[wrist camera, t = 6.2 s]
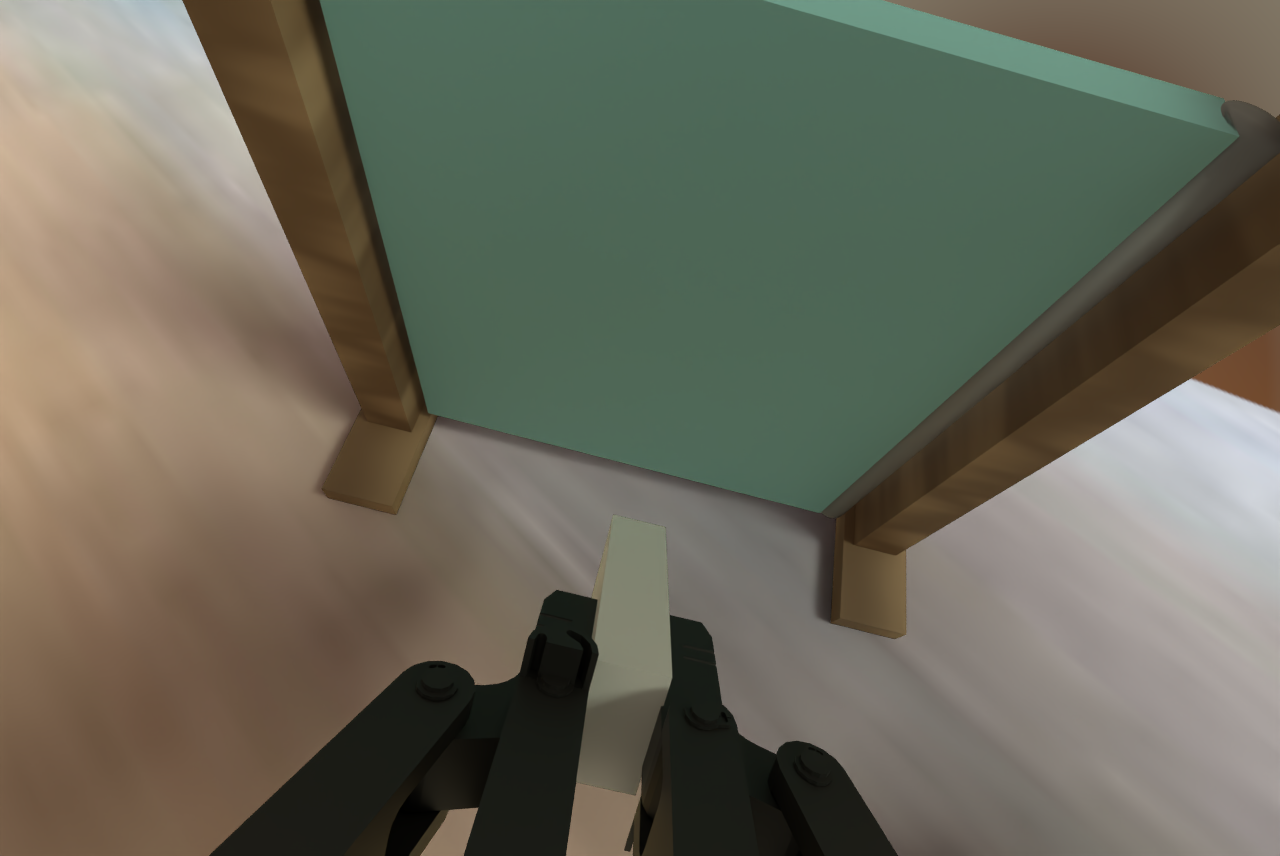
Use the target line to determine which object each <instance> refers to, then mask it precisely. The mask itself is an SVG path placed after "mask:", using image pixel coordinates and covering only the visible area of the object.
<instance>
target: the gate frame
mask: <svg viewBox="0 0 1280 856" xmlns="http://www.w3.org/2000/svg"><path fill="white" fill-rule="evenodd" d="M182 1H183V3H184V5H185V7H186V10H187V12H188V14H189V16H190V19H191V21H192V23H193V26H194V28H195V30H196V32H197V35H198V37H199V39H200V42H201V44H202V46H203V48H204V51H205V53H206V55H207V57H208V60H209V62H210V64H211V67H212V69H213V71H214V73H215V76H216V78H217V80H218V82H219V85H220V87H221V89H222V92H223V94H224V96H225V98H226V101H227V103H228V105H229V108H230V110H231V112H232V114H233V117H234V119H235V121H236V123H237V126H238V128H239V130H240V133H241V135H242V137H243V139H244V142H245V144H246V146H247V148H248V151H249V153H250V155H251V158H252V160H253V162H254V164H255V167H256V169H257V171H258V174H259V176H260V178H261V180H262V183H263V185H264V187H265V189H266V192H267V194H268V196H269V199H270V201H271V203H272V205H273V208H274V210H275V212H276V214H277V217H278V219H279V221H280V224H281V226H282V228H283V230H284V233H285V235H286V237H287V239H288V242H289V244H290V246H291V249H292V251H293V253H294V255H295V258H296V260H297V262H298V265H299V267H300V269H301V271H302V274H303V276H304V278H305V280H306V283H307V285H308V287H309V290H310V292H311V294H312V296H313V299H314V301H315V303H316V305H317V308H318V310H319V312H320V315H321V317H322V319H323V321H324V324H325V326H326V328H327V331H328V333H329V335H330V337H331V340H332V342H333V344H334V346H335V349H336V351H337V353H338V356H339V358H340V360H341V362H342V365H343V367H344V369H345V371H346V374H347V376H348V378H349V381H350V383H351V385H352V387H353V390H354V392H355V394H356V397H357V399H358V401H359V403H360V406H361V410H360V412H359V414H358V416H357V418H356V420H355V422H354V424H353V426H352V429H351V431H350V433H349V435H348V437H347V439H346V441H345V443H344V445H343V447H342V449H341V451H340V453H339V455H338V457H337V459H336V461H335V463H334V465H333V467H332V469H331V471H330V473H329V475H328V477H327V479H326V481H325V483H324V485H323V487H322V490H323V491H324V493H325V494H326V496H327V497H328V498H331V499H335V500H339V501H343V502H347V503H351V504H355V505H359V506H363V507H367V508H371V509H375V510H379V511H383V512H387V513H391V514H395V515H396V514H397V511H398V509H399V507H400V504H401V502H402V500H403V497H404V495H405V493H406V490H407V488H408V485H409V483H410V481H411V478H412V476H413V474H414V471H415V469H416V467H417V464H418V462H419V459H420V457H421V455H422V452H423V450H424V448H425V445H426V443H427V441H428V438H429V436H430V433H431V431H432V429H433V426H434V424H435V422H436V419H437V417H438V415H434V414H430V413H428V410H427V406H426V403H425V399H424V395H423V391H422V387H421V384H420V380H419V376H418V372H417V368H416V365H415V361H414V357H413V353H412V349H411V346H410V342H409V338H408V334H407V330H406V327H405V323H404V319H403V315H402V311H401V308H400V304H399V300H398V296H397V292H396V289H395V285H394V281H393V277H392V273H391V270H390V266H389V262H388V258H387V254H386V251H385V247H384V243H383V239H382V235H381V232H380V228H379V224H378V220H377V216H376V213H375V209H374V205H373V201H372V197H371V194H370V190H369V186H368V182H367V178H366V175H365V171H364V167H363V163H362V159H361V156H360V152H359V148H358V144H357V140H356V137H355V133H354V129H353V125H352V121H351V118H350V114H349V110H348V106H347V102H346V99H345V95H344V91H343V87H342V83H341V80H340V76H339V72H338V68H337V64H336V61H335V57H334V53H333V49H332V45H331V41H330V38H329V34H328V30H327V26H326V22H325V19H324V15H323V11H322V7H321V3H320V0H182ZM1276 119H1277V120H1278V121H1280V115H1279V116H1277V117H1276ZM1279 325H1280V153H1279V154H1278V155H1276V156H1275V157H1274V158H1273V159H1272V160H1270V161H1269V162H1268V163H1267V164H1266V165H1264V166H1263V167H1262V168H1261V169H1260V170H1258V171H1257V172H1256V173H1255V174H1254V175H1252V176H1251V177H1250V178H1249V179H1248V180H1246V181H1245V182H1244V183H1243V184H1242V185H1240V186H1239V187H1238V188H1237V189H1235V190H1234V191H1233V192H1232V193H1231V194H1229V195H1228V196H1227V197H1226V198H1225V199H1223V200H1222V201H1221V202H1220V203H1219V204H1217V205H1216V206H1215V207H1214V208H1213V209H1211V210H1210V211H1209V212H1208V213H1207V214H1205V215H1204V216H1203V217H1202V218H1200V219H1199V220H1198V221H1197V222H1196V223H1194V224H1193V225H1192V226H1191V227H1190V228H1188V229H1187V230H1186V231H1185V232H1184V233H1182V234H1181V235H1180V236H1179V237H1178V238H1176V239H1175V240H1174V241H1173V242H1172V243H1170V244H1169V245H1168V246H1167V247H1165V248H1164V249H1163V250H1162V251H1161V252H1159V253H1158V254H1157V255H1156V256H1155V257H1153V258H1152V259H1151V260H1150V261H1149V262H1147V263H1146V264H1145V265H1144V266H1143V267H1141V268H1140V269H1139V270H1138V271H1137V272H1135V273H1134V274H1133V275H1132V276H1130V277H1129V278H1128V279H1127V280H1126V281H1124V282H1123V283H1122V284H1121V285H1120V286H1118V287H1117V288H1116V289H1115V290H1114V291H1112V292H1111V293H1110V294H1109V295H1108V296H1106V297H1105V298H1104V299H1103V300H1102V301H1100V302H1099V303H1098V304H1097V305H1095V306H1094V307H1093V308H1092V309H1091V310H1089V311H1088V312H1087V313H1086V314H1085V315H1083V316H1082V317H1081V318H1080V319H1079V320H1077V321H1076V322H1075V323H1074V324H1073V325H1071V326H1070V327H1069V328H1068V329H1067V330H1065V331H1064V332H1063V333H1062V334H1061V335H1059V336H1058V337H1057V338H1056V339H1054V340H1053V341H1052V342H1051V343H1050V344H1048V345H1047V346H1046V347H1045V348H1044V349H1042V350H1041V351H1040V352H1039V353H1038V354H1036V355H1035V356H1034V357H1033V358H1032V359H1030V360H1029V361H1028V362H1027V363H1026V364H1024V365H1023V366H1022V367H1021V368H1019V369H1018V370H1017V371H1016V372H1015V373H1013V374H1012V375H1011V376H1010V377H1009V378H1007V379H1006V380H1005V381H1004V382H1003V383H1001V384H1000V385H999V386H998V387H997V388H995V389H994V390H993V391H992V392H991V393H989V394H988V395H987V396H986V397H984V398H983V399H982V400H981V401H980V402H978V403H977V404H976V405H975V406H974V407H972V408H971V409H970V410H969V411H968V412H966V413H965V414H964V415H963V416H962V417H960V418H959V419H958V420H957V421H956V422H954V423H953V424H952V425H951V426H949V427H948V428H947V429H946V430H945V431H943V432H942V433H941V434H940V435H939V436H937V437H936V438H935V439H934V440H933V441H931V442H930V443H929V444H928V445H927V446H925V447H924V448H923V449H922V450H921V451H919V452H918V453H917V454H916V455H914V456H913V457H912V458H911V459H910V460H908V461H907V462H906V463H905V464H904V465H902V466H901V467H900V468H899V469H898V470H896V471H895V472H894V473H893V474H892V475H890V476H889V477H888V478H887V479H886V480H884V481H883V482H882V483H881V484H880V485H878V486H877V487H876V488H875V489H873V490H872V491H871V492H870V493H869V494H867V495H866V496H865V497H864V498H863V499H861V500H860V501H859V502H858V503H857V504H855V505H854V506H853V507H852V508H851V509H849V510H848V511H847V512H846V513H845V514H843V515H842V516H841V517H839V518H836V532H835V551H834V570H833V588H832V607H831V623H832V624H836V625H840V626H844V627H848V628H853V629H857V630H861V631H865V632H869V633H873V634H877V635H881V636H885V637H889V638H893V639H896V638H899V637H902V636H904V635H906V549H908V548H909V547H911V546H913V545H914V544H916V543H918V542H919V541H921V540H923V539H924V538H926V537H928V536H929V535H931V534H933V533H934V532H936V531H938V530H939V529H941V528H943V527H944V526H946V525H948V524H949V523H951V522H953V521H954V520H956V519H958V518H959V517H961V516H963V515H964V514H966V513H968V512H969V511H971V510H973V509H974V508H976V507H978V506H979V505H981V504H983V503H984V502H986V501H988V500H989V499H991V498H993V497H994V496H996V495H998V494H999V493H1001V492H1003V491H1004V490H1006V489H1008V488H1009V487H1011V486H1013V485H1014V484H1016V483H1017V482H1019V481H1021V480H1022V479H1024V478H1026V477H1027V476H1029V475H1031V474H1032V473H1034V472H1036V471H1037V470H1039V469H1041V468H1042V467H1044V466H1046V465H1047V464H1049V463H1051V462H1052V461H1054V460H1056V459H1057V458H1059V457H1061V456H1062V455H1064V454H1066V453H1067V452H1069V451H1071V450H1072V449H1074V448H1076V447H1077V446H1079V445H1081V444H1082V443H1084V442H1086V441H1087V440H1089V439H1091V438H1092V437H1094V436H1096V435H1097V434H1099V433H1101V432H1102V431H1104V430H1106V429H1107V428H1109V427H1111V426H1112V425H1114V424H1116V423H1117V422H1119V421H1121V420H1122V419H1124V418H1126V417H1127V416H1129V415H1131V414H1132V413H1134V412H1136V411H1137V410H1139V409H1141V408H1142V407H1144V406H1146V405H1147V404H1149V403H1151V402H1152V401H1154V400H1156V399H1157V398H1159V397H1161V396H1162V395H1164V394H1166V393H1167V392H1169V391H1171V390H1172V389H1174V388H1176V387H1177V386H1179V385H1181V384H1182V383H1184V382H1186V381H1187V380H1189V379H1191V378H1192V377H1194V376H1196V375H1197V374H1199V373H1200V372H1202V371H1204V370H1206V369H1207V368H1209V367H1211V366H1212V365H1214V364H1216V363H1217V362H1219V361H1221V360H1222V359H1224V358H1226V357H1227V356H1229V355H1230V354H1232V353H1234V352H1236V351H1237V350H1239V349H1241V348H1242V347H1244V346H1246V345H1247V344H1249V343H1250V342H1252V341H1254V340H1255V339H1257V338H1259V337H1260V336H1262V335H1264V334H1265V333H1267V332H1269V331H1270V330H1272V329H1274V328H1275V327H1277V326H1279Z"/></svg>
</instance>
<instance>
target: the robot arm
mask: <svg viewBox="0 0 1280 856" xmlns="http://www.w3.org/2000/svg"><path fill="white" fill-rule="evenodd" d="M715 665H716V661H715V654H714V648H713V641H712V637H711V635H710V634H709V632H708V631H707V630H706V628H705V627H704V625H703V624H702V623H701V622H697V621H693V620H688V619H684V618H680V617H676V616H671V615H669V593H668V572H667V550H666V528H665V527H663V526H659V525H654V524H650V523H646V522H642V521H638V520H634V519H630V518H626V517H622V516H617V515H613V518H612V521H611V525H610V529H609V533H608V537H607V540H606V544H605V548H604V552H603V556H602V559H601V563H600V567H599V571H598V575H597V578H596V582H595V586H594V590H593V594H592V597H591V598H589V597H584V596H580V595H576V594H572V593H568V592H563V591H559V590H556V591H555V592H553V593H552V594H551V595H549V596H548V597H547V598H546V599H544V603H543V606H542V609H541V612H540V616H539V619H538V622H537V626H536V629H535V630H533V632H532V633H531V635H530V636H529V637H528V641H527V645H526V649H525V653H524V658H523V662H522V666H521V670H520V673H519V674H518V675H517V676H516V677H514V678H512V679H510V680H508V681H506V682H503V683H499V684H493V685H475V684H474V680H473V678H472V677H471V676H470V674H469V673H468V672H467V671H466V670H464V669H463V668H461V667H459V666H458V665H455V664H452V663H448V662H444V661H427V662H423V663H420V664H416V665H413V666H412V667H410V668H409V669H407V670H406V671H404V672H403V673H402V674H401V675H400V676H399V677H398V678H396V679H395V680H394V681H393V682H392V683H391V684H390V685H389V686H388V687H387V688H386V689H385V690H384V691H383V692H382V693H381V694H380V695H378V696H377V697H376V698H375V699H374V700H373V701H372V702H371V703H370V704H369V705H368V706H367V707H366V708H365V709H364V710H363V711H362V712H360V713H359V714H358V715H357V716H356V717H355V718H354V719H353V720H352V721H351V722H350V723H349V724H348V725H347V726H346V727H345V728H344V729H342V730H341V731H340V732H339V733H338V734H337V735H336V736H335V737H334V738H333V739H332V740H331V741H330V742H329V743H328V744H327V745H326V746H324V747H323V748H322V749H321V750H320V751H319V752H318V753H317V754H316V755H315V756H314V757H313V758H312V759H311V760H310V761H309V762H308V763H306V764H305V765H304V766H303V767H302V768H301V769H300V770H299V771H298V772H297V773H296V774H295V775H294V776H293V777H292V778H291V779H290V780H288V781H287V782H286V783H285V784H284V785H283V786H282V787H281V788H280V789H279V790H278V791H277V792H276V793H275V794H274V795H273V796H272V797H270V798H269V799H268V800H267V801H266V802H265V803H264V804H263V805H262V806H261V807H260V808H259V809H258V810H257V811H256V812H255V813H254V814H252V815H251V816H250V817H249V818H248V819H247V820H246V821H245V822H244V823H243V824H242V825H241V826H240V827H239V828H238V829H237V830H236V831H234V832H233V833H232V834H231V835H230V836H229V837H228V838H227V839H226V840H225V841H224V842H223V843H222V844H221V845H220V846H219V847H218V848H216V849H215V850H214V851H213V852H212V853H211V854H210V855H209V856H420V855H421V853H422V852H423V850H424V849H425V848H426V846H427V845H428V843H429V842H430V840H431V839H432V837H433V836H434V834H435V833H436V831H437V830H438V829H439V827H440V826H441V824H442V823H443V821H444V820H445V818H446V815H447V813H448V811H449V810H453V809H465V808H477V807H479V808H478V811H477V814H476V817H475V821H474V824H473V827H472V830H471V834H470V837H469V840H468V843H467V847H466V850H465V853H464V856H566V850H567V843H568V836H569V829H570V822H571V815H572V807H573V800H574V793H575V786H576V782H577V783H582V784H586V785H591V786H595V787H599V788H604V789H608V790H613V791H617V792H622V793H626V794H631V795H636V792H637V789H638V786H639V782H640V779H641V776H642V789H641V798H640V801H639V804H638V807H637V810H636V813H635V817H634V820H633V823H632V826H631V829H630V832H629V836H628V839H627V842H626V846H625V849H624V851H629V852H630V850H631V847H632V844H633V856H898V855H897V853H896V852H895V850H894V849H893V847H892V845H891V844H890V842H889V841H888V839H887V837H886V836H885V834H884V833H883V831H882V829H881V828H880V826H879V824H878V823H877V821H876V820H875V818H874V816H873V815H872V813H871V812H870V810H869V808H868V807H867V805H866V804H865V802H864V800H863V799H862V797H861V796H860V794H859V792H858V791H857V789H856V788H855V786H854V784H853V783H852V781H851V780H850V778H849V776H848V775H847V773H846V771H845V770H844V769H843V768H842V766H841V765H840V764H839V763H838V762H837V760H836V759H835V758H833V757H832V756H831V755H829V754H828V753H827V752H826V751H824V750H823V749H821V748H818V747H816V746H814V745H812V744H810V743H805V742H800V741H792V742H786V743H784V744H783V745H782V746H781V747H779V749H778V751H777V754H774V753H772V752H770V751H768V750H766V749H764V748H762V747H760V746H757V745H755V744H754V743H752V742H750V741H749V740H747V739H745V738H744V737H743V736H741V735H740V734H739V733H738V729H737V724H736V722H735V720H734V717H733V715H732V714H731V713H730V712H729V711H728V709H727V708H726V707H725V706H724V705H722V700H721V694H720V687H719V681H718V674H717V667H716V666H715Z"/></svg>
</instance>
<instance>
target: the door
mask: <svg viewBox="0 0 1280 856" xmlns="http://www.w3.org/2000/svg"><path fill="white" fill-rule="evenodd" d="M320 3H321V7H322V11H323V15H324V19H325V22H326V26H327V30H328V34H329V38H330V41H331V45H332V49H333V53H334V57H335V61H336V64H337V68H338V72H339V76H340V80H341V83H342V87H343V91H344V95H345V99H346V102H347V106H348V110H349V114H350V118H351V121H352V125H353V129H354V133H355V137H356V140H357V144H358V148H359V152H360V156H361V159H362V163H363V167H364V171H365V175H366V178H367V182H368V186H369V190H370V194H371V197H372V201H373V205H374V209H375V213H376V216H377V220H378V224H379V228H380V232H381V235H382V239H383V243H384V247H385V251H386V254H387V258H388V262H389V266H390V270H391V273H392V277H393V281H394V285H395V289H396V292H397V296H398V300H399V304H400V308H401V311H402V315H403V319H404V323H405V327H406V330H407V334H408V338H409V342H410V346H411V349H412V353H413V357H414V361H415V365H416V368H417V372H418V376H419V380H420V384H421V387H422V391H423V395H424V399H425V403H426V406H427V410H428V413H430V414H434V415H438V416H442V417H445V418H449V419H453V420H457V421H461V422H465V423H469V424H473V425H477V426H481V427H485V428H488V429H492V430H496V431H500V432H504V433H508V434H512V435H516V436H520V437H524V438H528V439H531V440H535V441H539V442H543V443H547V444H551V445H555V446H559V447H563V448H567V449H571V450H575V451H578V452H582V453H586V454H590V455H594V456H598V457H602V458H606V459H610V460H614V461H618V462H621V463H625V464H629V465H633V466H637V467H641V468H645V469H649V470H653V471H657V472H661V473H664V474H668V475H672V476H676V477H680V478H684V479H688V480H692V481H696V482H700V483H704V484H708V485H711V486H715V487H719V488H723V489H727V490H731V491H735V492H739V493H743V494H747V495H751V496H754V497H758V498H762V499H766V500H770V501H774V502H778V503H782V504H786V505H790V506H794V507H797V508H801V509H805V510H809V511H813V512H817V513H822V514H824V515H825V516H827V517H829V518H839V517H841V516H842V515H843V514H845V513H846V512H847V511H848V510H849V509H851V508H852V507H853V506H854V505H855V504H857V503H858V502H859V501H860V500H861V499H863V498H864V497H865V496H866V495H867V494H869V493H870V492H871V491H872V490H873V489H875V488H876V487H877V486H878V485H880V484H881V483H882V482H883V481H884V480H886V479H887V478H888V477H889V476H890V475H892V474H893V473H894V472H895V471H896V470H898V469H899V468H900V467H901V466H902V465H904V464H905V463H906V462H907V461H908V460H910V459H911V458H912V457H913V456H914V455H916V454H917V453H918V452H919V451H921V450H922V449H923V448H924V447H925V446H927V445H928V444H929V443H930V442H931V441H933V440H934V439H935V438H936V437H937V436H939V435H940V434H941V433H942V432H943V431H945V430H946V429H947V428H948V427H949V426H951V425H952V424H953V423H954V422H956V421H957V420H958V419H959V418H960V417H962V416H963V415H964V414H965V413H966V412H968V411H969V410H970V409H971V408H972V407H974V406H975V405H976V404H977V403H978V402H980V401H981V400H982V399H983V398H984V397H986V396H987V395H988V394H989V393H991V392H992V391H993V390H994V389H995V388H997V387H998V386H999V385H1000V384H1001V383H1003V382H1004V381H1005V380H1006V379H1007V378H1009V377H1010V376H1011V375H1012V374H1013V373H1015V372H1016V371H1017V370H1018V369H1019V368H1021V367H1022V366H1023V365H1024V364H1026V363H1027V362H1028V361H1029V360H1030V359H1032V358H1033V357H1034V356H1035V355H1036V354H1038V353H1039V352H1040V351H1041V350H1042V349H1044V348H1045V347H1046V346H1047V345H1048V344H1050V343H1051V342H1052V341H1053V340H1054V339H1056V338H1057V337H1058V336H1059V335H1061V334H1062V333H1063V332H1064V331H1065V330H1067V329H1068V328H1069V327H1070V326H1071V325H1073V324H1074V323H1075V322H1076V321H1077V320H1079V319H1080V318H1081V317H1082V316H1083V315H1085V314H1086V313H1087V312H1088V311H1089V310H1091V309H1092V308H1093V307H1094V306H1095V305H1097V304H1098V303H1099V302H1100V301H1102V300H1103V299H1104V298H1105V297H1106V296H1108V295H1109V294H1110V293H1111V292H1112V291H1114V290H1115V289H1116V288H1117V287H1118V286H1120V285H1121V284H1122V283H1123V282H1124V281H1126V280H1127V279H1128V278H1129V277H1130V276H1132V275H1133V274H1134V273H1135V272H1137V271H1138V270H1139V269H1140V268H1141V267H1143V266H1144V265H1145V264H1146V263H1147V262H1149V261H1150V260H1151V259H1152V258H1153V257H1155V256H1156V255H1157V254H1158V253H1159V252H1161V251H1162V250H1163V249H1164V248H1165V247H1167V246H1168V245H1169V244H1170V243H1172V242H1173V241H1174V240H1175V239H1176V238H1178V237H1179V236H1180V235H1181V234H1182V233H1184V232H1185V231H1186V230H1187V229H1188V228H1190V227H1191V226H1192V225H1193V224H1194V223H1196V222H1197V221H1198V220H1199V219H1200V218H1202V217H1203V216H1204V215H1205V214H1207V213H1208V212H1209V211H1210V210H1211V209H1213V208H1214V207H1215V206H1216V205H1217V204H1219V203H1220V202H1221V201H1222V200H1223V199H1225V198H1226V197H1227V196H1228V195H1229V194H1231V193H1232V192H1233V191H1234V190H1235V189H1237V188H1238V187H1239V186H1240V185H1242V184H1243V183H1244V182H1245V181H1246V180H1248V179H1249V178H1250V177H1251V176H1252V175H1254V174H1255V173H1256V172H1257V171H1258V170H1260V169H1261V168H1262V167H1263V166H1264V165H1266V164H1267V163H1268V162H1269V161H1270V160H1272V159H1273V158H1274V157H1275V156H1276V155H1278V154H1279V153H1280V121H1278V120H1277V119H1276V118H1275V117H1273V116H1272V115H1271V114H1269V113H1268V112H1266V111H1264V110H1263V109H1260V108H1259V107H1257V106H1254V105H1252V104H1249V103H1246V102H1242V101H1235V100H1233V101H1227V102H1225V100H1224V99H1223V98H1220V97H1216V96H1213V95H1209V94H1206V93H1202V92H1199V91H1195V90H1192V89H1188V88H1185V87H1181V86H1178V85H1174V84H1171V83H1167V82H1164V81H1160V80H1157V79H1154V78H1150V77H1146V76H1143V75H1140V74H1136V73H1133V72H1129V71H1126V70H1122V69H1119V68H1115V67H1112V66H1108V65H1105V64H1101V63H1098V62H1094V61H1091V60H1088V59H1084V58H1080V57H1077V56H1074V55H1070V54H1067V53H1063V52H1060V51H1056V50H1053V49H1049V48H1045V47H1042V46H1039V45H1035V44H1032V43H1028V42H1025V41H1022V40H1018V39H1014V38H1011V37H1008V36H1004V35H1001V34H997V33H994V32H990V31H986V30H983V29H980V28H976V27H973V26H969V25H966V24H962V23H959V22H955V21H952V20H949V19H945V18H942V17H938V16H934V15H931V14H928V13H924V12H921V11H917V10H913V9H910V8H907V7H903V6H900V5H897V4H893V3H889V2H886V1H882V0H320Z"/></svg>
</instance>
